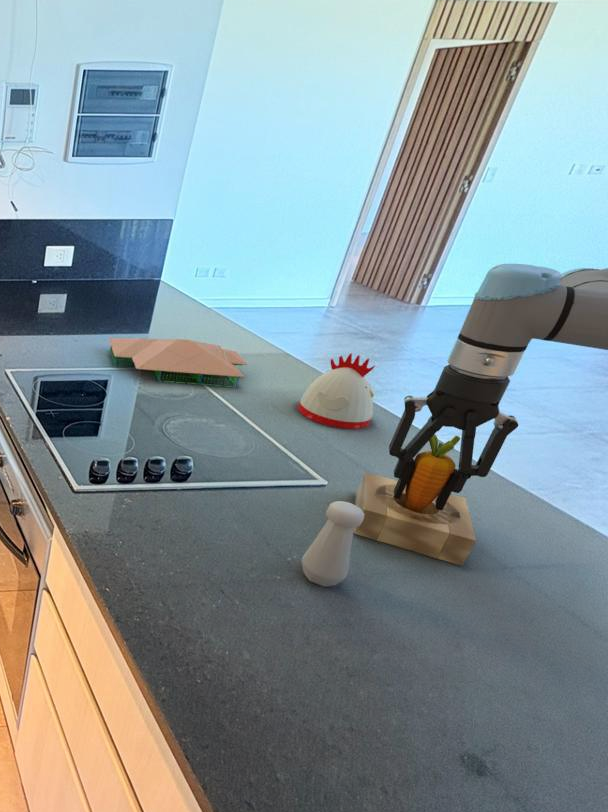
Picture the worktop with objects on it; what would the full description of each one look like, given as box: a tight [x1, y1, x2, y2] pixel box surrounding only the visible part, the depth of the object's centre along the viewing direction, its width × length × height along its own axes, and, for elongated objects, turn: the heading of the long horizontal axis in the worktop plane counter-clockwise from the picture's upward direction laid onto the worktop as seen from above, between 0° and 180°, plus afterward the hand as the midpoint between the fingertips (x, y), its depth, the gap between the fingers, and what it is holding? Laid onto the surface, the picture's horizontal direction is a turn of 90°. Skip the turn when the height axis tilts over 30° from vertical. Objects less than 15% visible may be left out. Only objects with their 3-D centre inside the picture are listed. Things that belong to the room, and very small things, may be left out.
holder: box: [353, 472, 477, 567], centre depth 103 cm, size 14×14×5 cm
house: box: [108, 337, 248, 388], centre depth 167 cm, size 23×33×8 cm
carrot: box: [405, 433, 461, 512], centre depth 100 cm, size 5×5×15 cm
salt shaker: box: [301, 500, 364, 588], centre depth 90 cm, size 6×6×13 cm
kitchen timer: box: [297, 352, 376, 430], centre depth 139 cm, size 14×14×15 cm
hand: (417, 500), depth 102 cm, fingers closed on carrot, 5 cm apart
